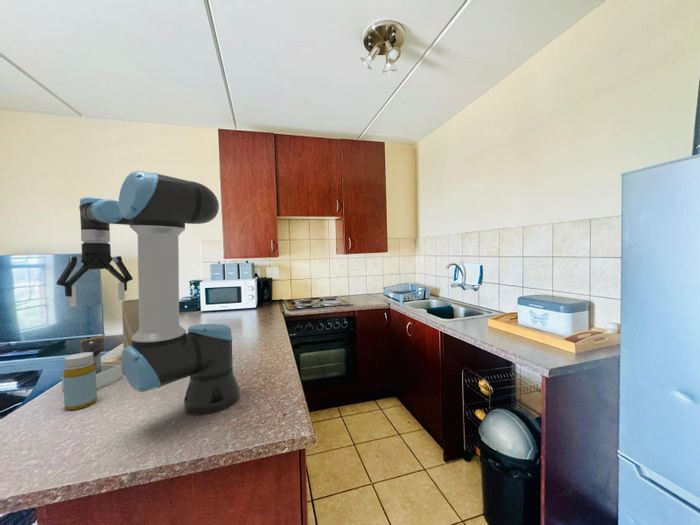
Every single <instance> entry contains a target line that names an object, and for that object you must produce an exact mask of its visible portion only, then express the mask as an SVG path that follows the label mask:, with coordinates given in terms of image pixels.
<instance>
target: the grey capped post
mask: <svg viewBox="0 0 700 525" xmlns="http://www.w3.org/2000/svg"><path fill="white" fill-rule="evenodd" d="M104 351H105V339H104V336H98V337H93V338H87V339H83V340H80V353H84V352H92V353H93V364H94V366H95V367H96V374H99V373H101V363H102V357H101V356H102V355H101V352H104Z"/></svg>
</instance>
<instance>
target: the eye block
mask: <svg viewBox="0 0 700 525" xmlns="http://www.w3.org/2000/svg"><path fill="white" fill-rule="evenodd" d="M101 364H110V365H122V361H121V355H119V356H116V357H113V358H110V359H108V360H105V361H101ZM122 375H125V373H124V370H123V367H122Z"/></svg>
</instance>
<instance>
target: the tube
mask: <svg viewBox="0 0 700 525" xmlns="http://www.w3.org/2000/svg"><path fill="white" fill-rule="evenodd" d="M121 314H122V316H121V318H122V341H123V349H124V348H127V347H128V346H132V336H133V335H134V334H135V333H136V332H138V330H139V298H138V299H137V298H136V299H126V300H122V302H121Z"/></svg>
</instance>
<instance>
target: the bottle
mask: <svg viewBox="0 0 700 525" xmlns="http://www.w3.org/2000/svg"><path fill="white" fill-rule="evenodd" d="M64 369H65V370H63V374H62V376H63V384H64V391H63V403H64V408H65V410H68V411H77V410H81V409H84V408H87V407H89V406H92V405H93V404H94V403H95V402H96V401H97V400H98V399H97V398H98V396H97V395H98V394H97V391H98V390H97V388H96V367H95V366H94V364H93V353H92V352H84V353H81V352H80V353H74V354H71V355H68V356H65V357H64Z"/></svg>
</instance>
